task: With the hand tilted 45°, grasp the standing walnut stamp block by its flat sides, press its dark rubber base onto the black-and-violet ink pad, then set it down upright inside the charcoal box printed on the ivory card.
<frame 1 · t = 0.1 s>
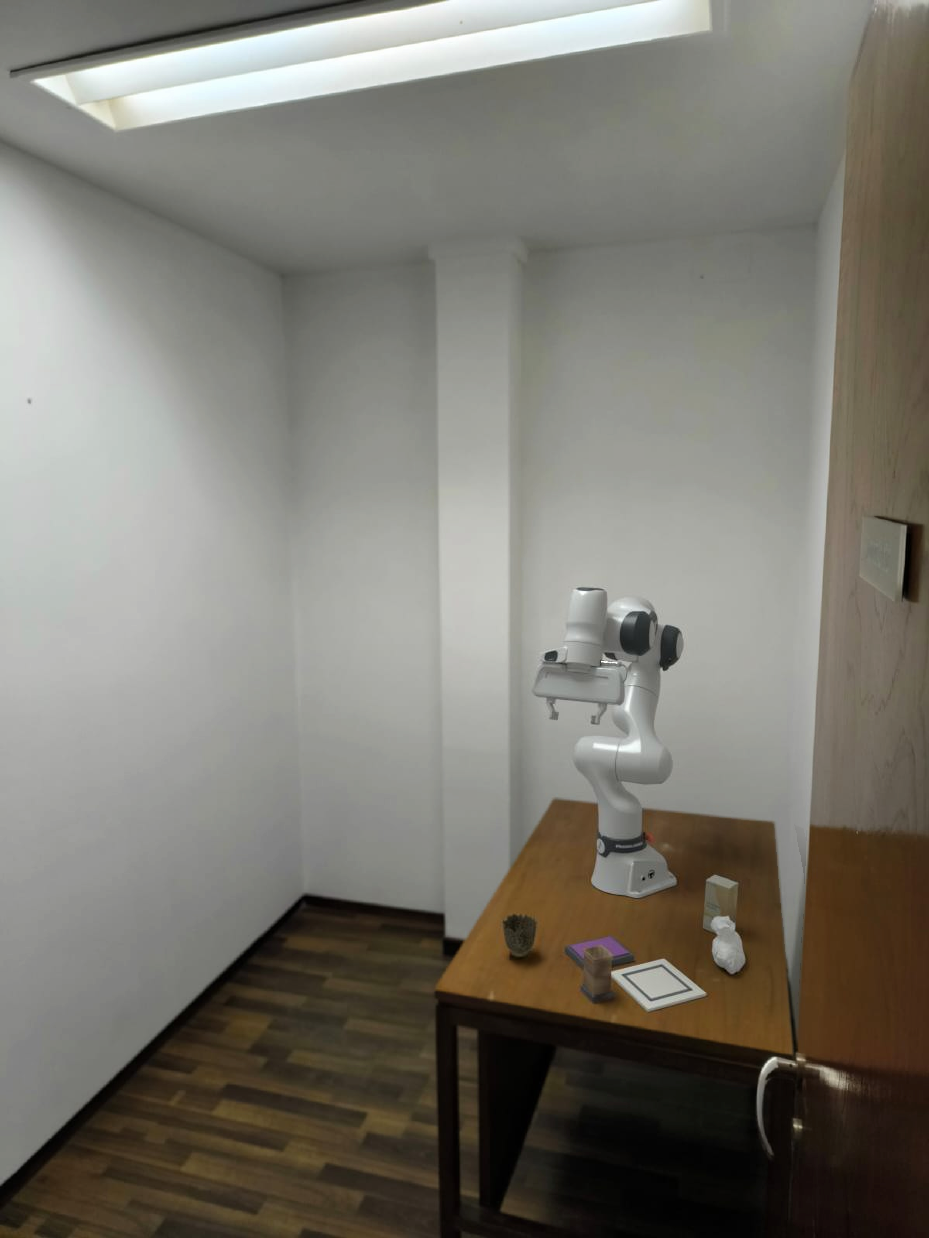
hand: (573, 722, 174), 52 cm above the table, tool tilted 20°, fingers open, 8 cm apart
bust: (726, 964, 175), on the table
stamp: (596, 994, 164), on the table
ink pad: (599, 956, 178), on the table
print card: (656, 985, 167), on the table
cup: (519, 956, 178), on the table
skincare box: (719, 931, 189), on the table
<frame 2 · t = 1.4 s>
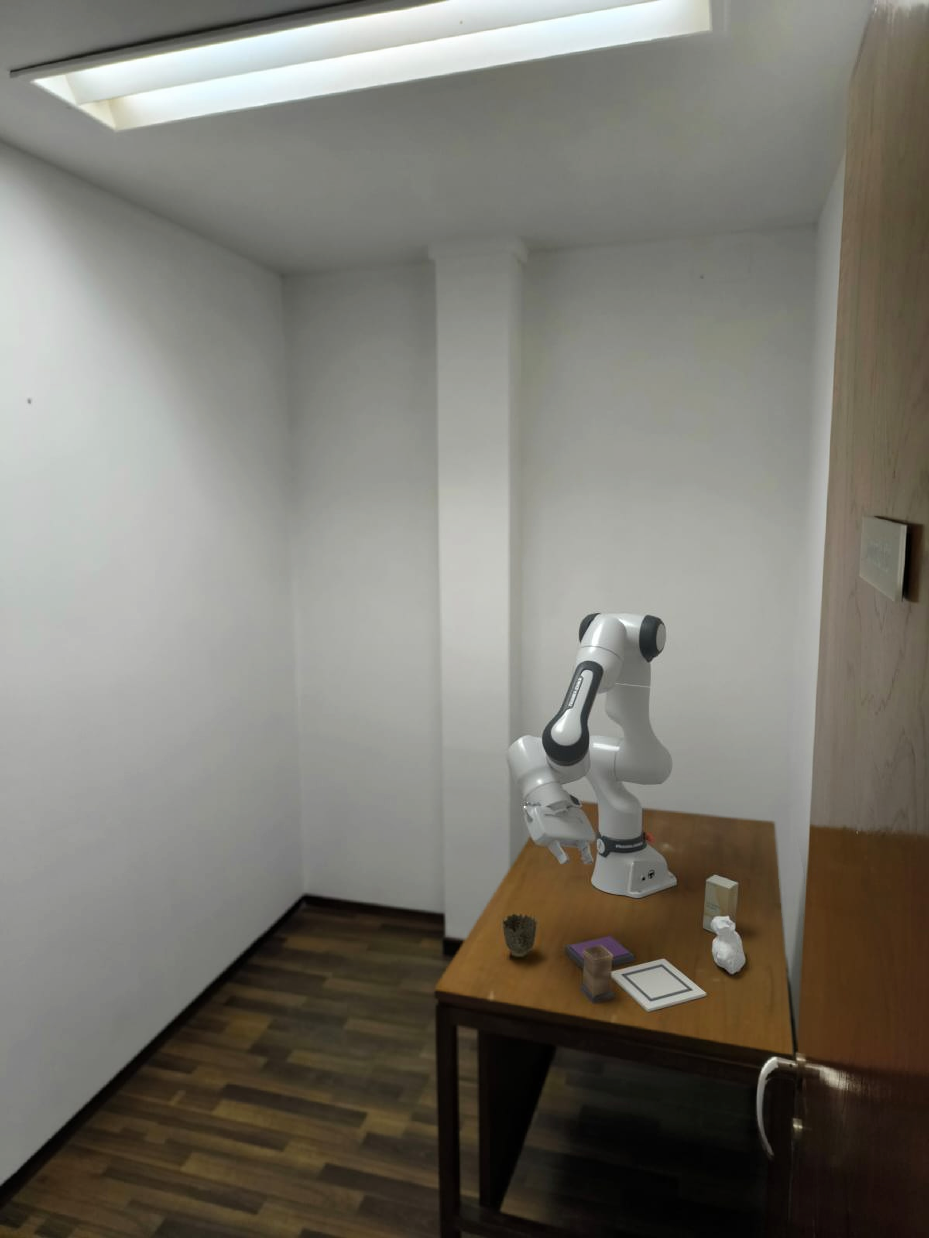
hand: (577, 862, 168), 25 cm above the table, tool tilted 50°, fingers open, 8 cm apart
nothing on the table moved.
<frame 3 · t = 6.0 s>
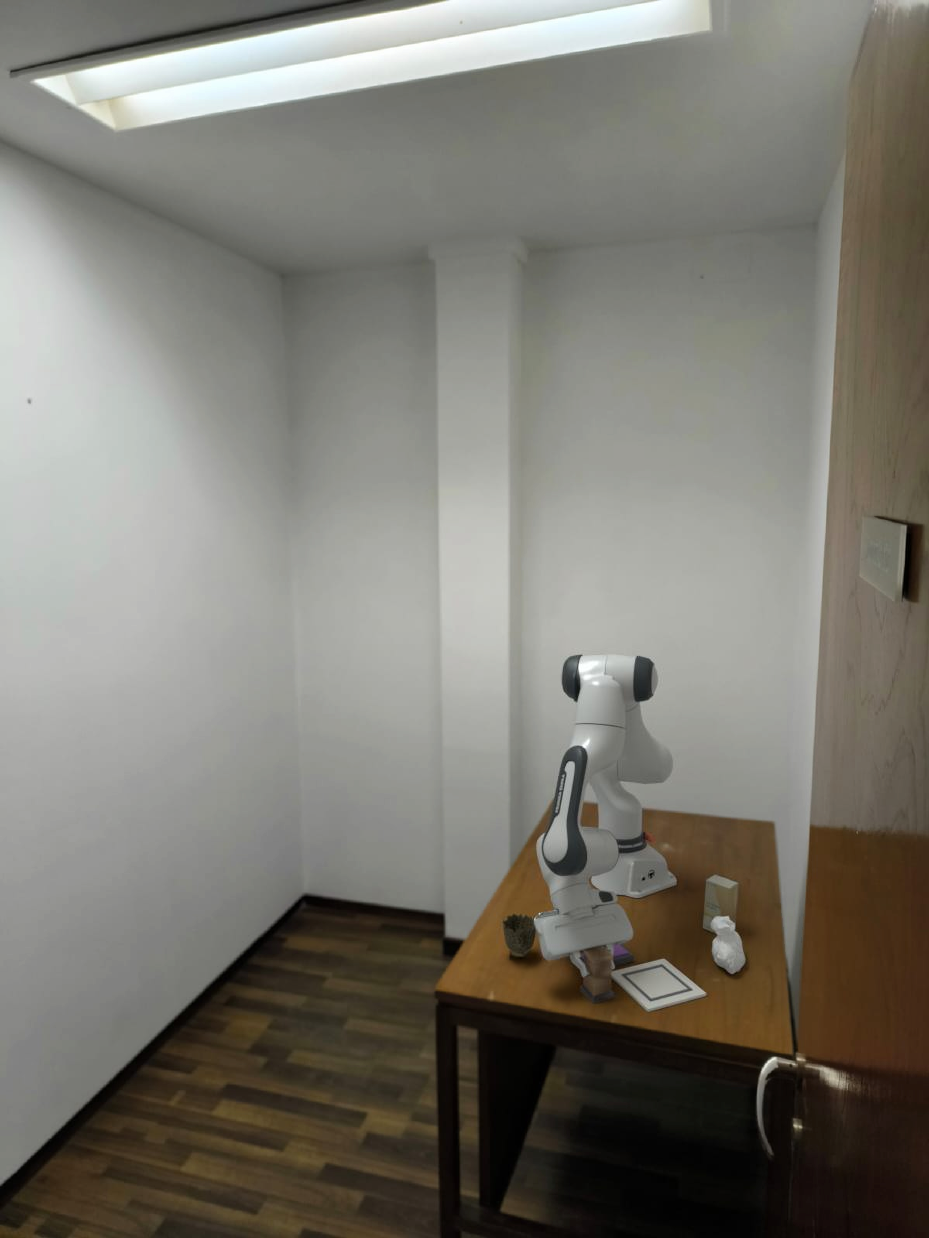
hand: (599, 972, 163), 5 cm above the table, tool tilted 45°, fingers closed on stamp, 4 cm apart
stamp: (596, 993, 164), on the table, touching gripper
everything else where it was.
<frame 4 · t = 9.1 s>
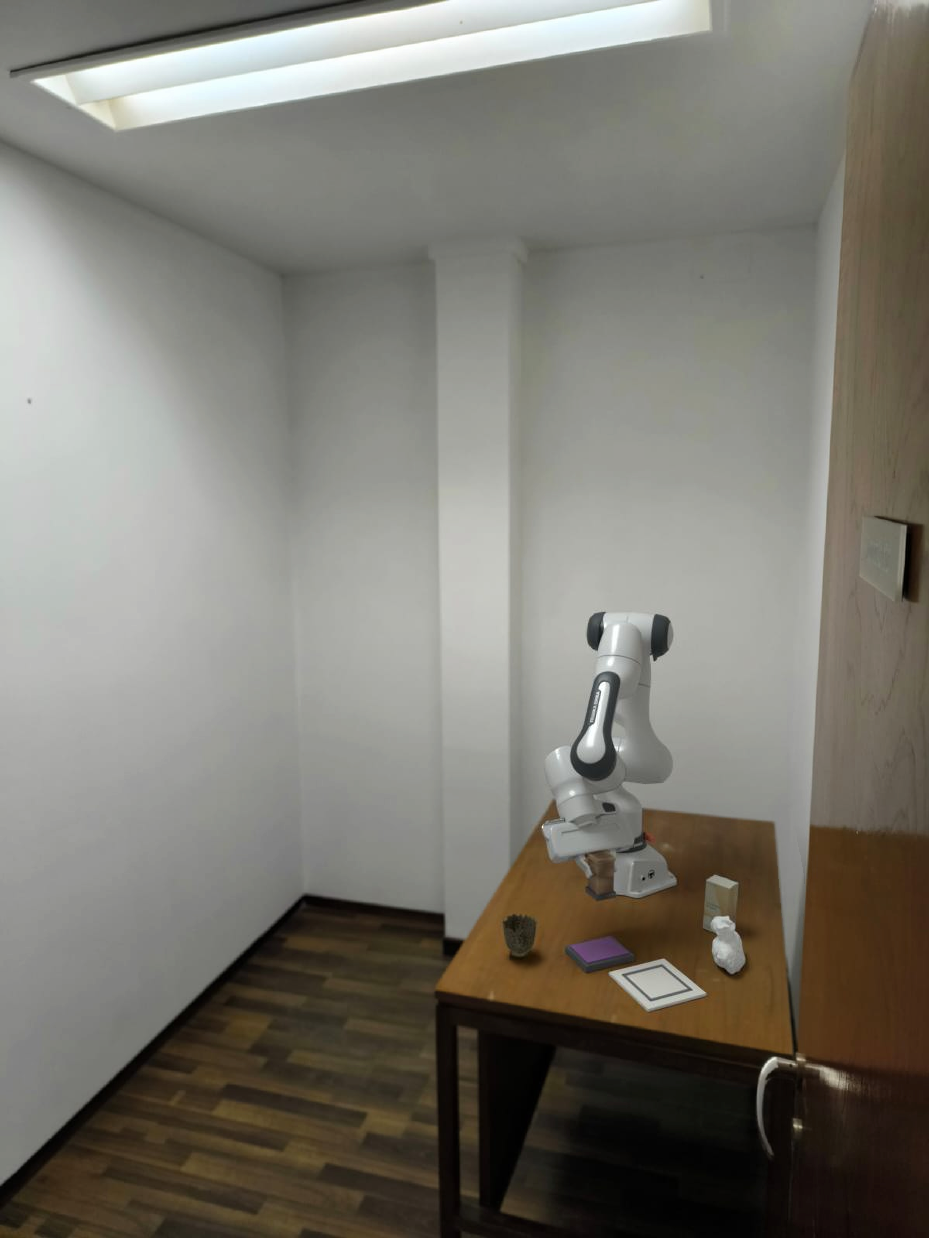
hand: (602, 874, 175), 19 cm above the table, tool tilted 45°, fingers closed on stamp, 4 cm apart
stamp: (600, 894, 176), point 14 cm above the table, touching gripper
everything else where it was.
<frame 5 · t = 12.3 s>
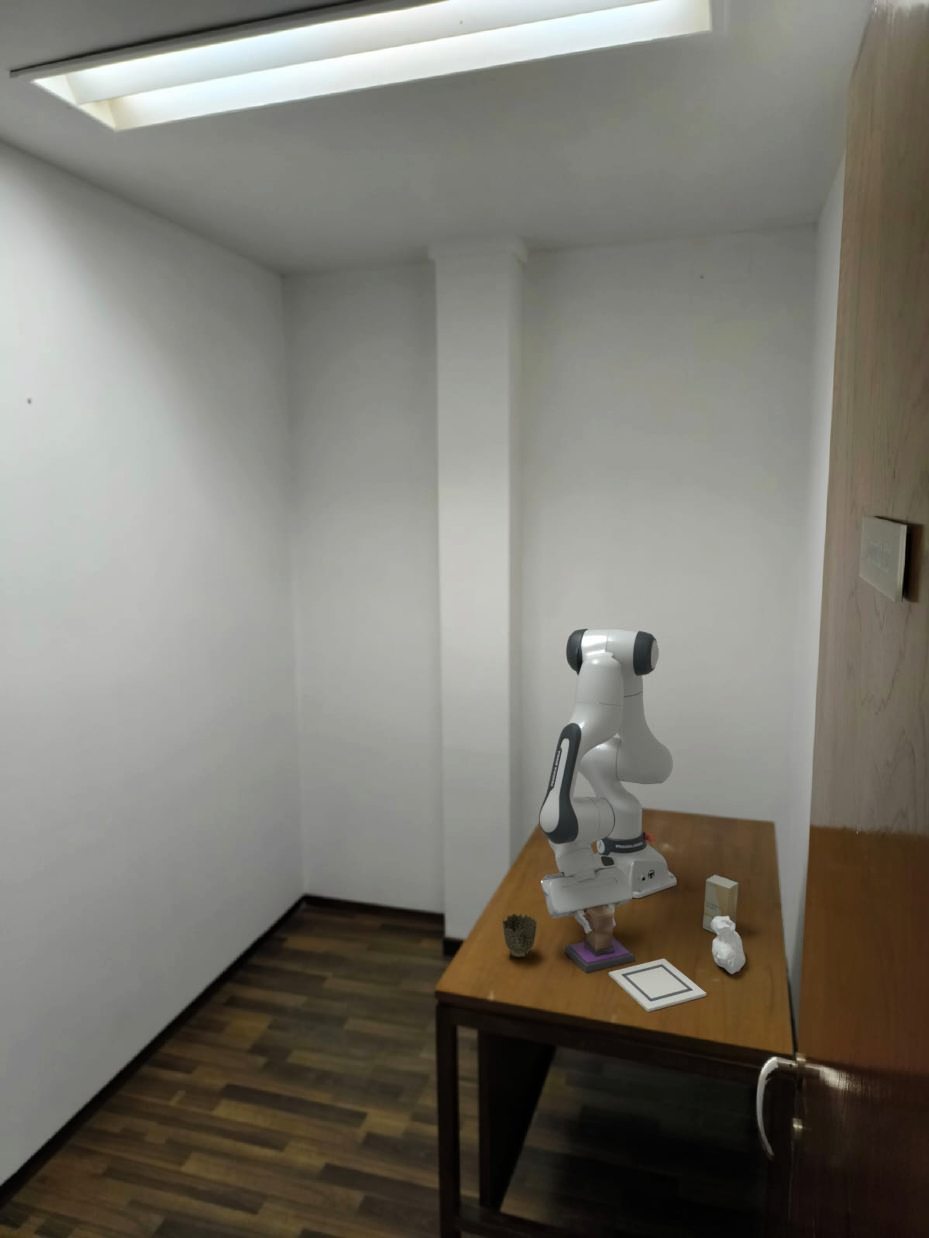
hand: (601, 929, 176), 7 cm above the table, tool tilted 45°, fingers closed on stamp, 4 cm apart
stamp: (599, 949, 178), point 2 cm above the table, touching gripper, ink pad
everything else where it was.
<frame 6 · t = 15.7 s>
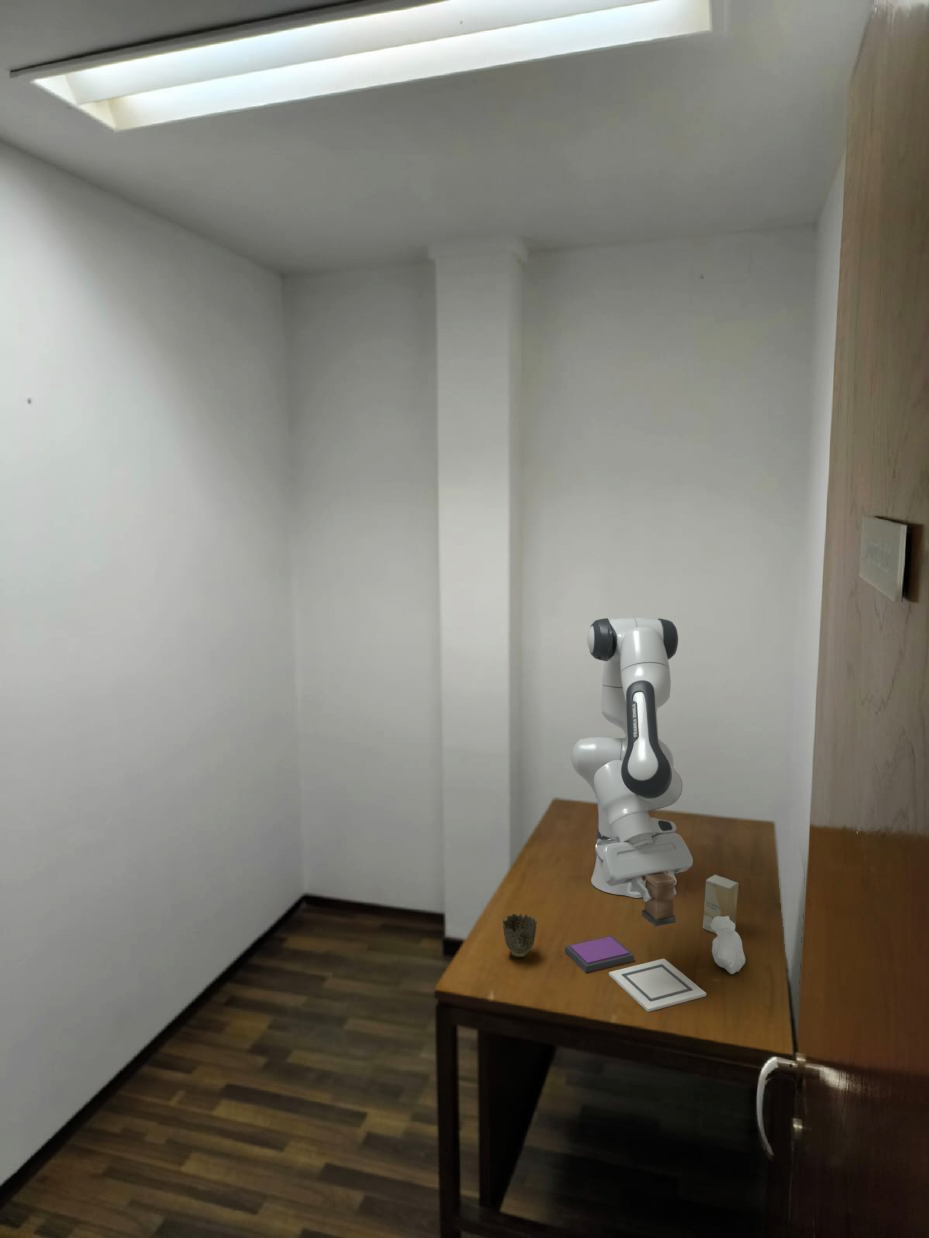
hand: (661, 897, 164), 19 cm above the table, tool tilted 45°, fingers closed on stamp, 4 cm apart
stamp: (658, 918, 165), point 14 cm above the table, touching gripper
everything else where it was.
when the fingers open (7 cm above the table, at t = 18.8 s): stamp drops 2 cm, resting on print card.
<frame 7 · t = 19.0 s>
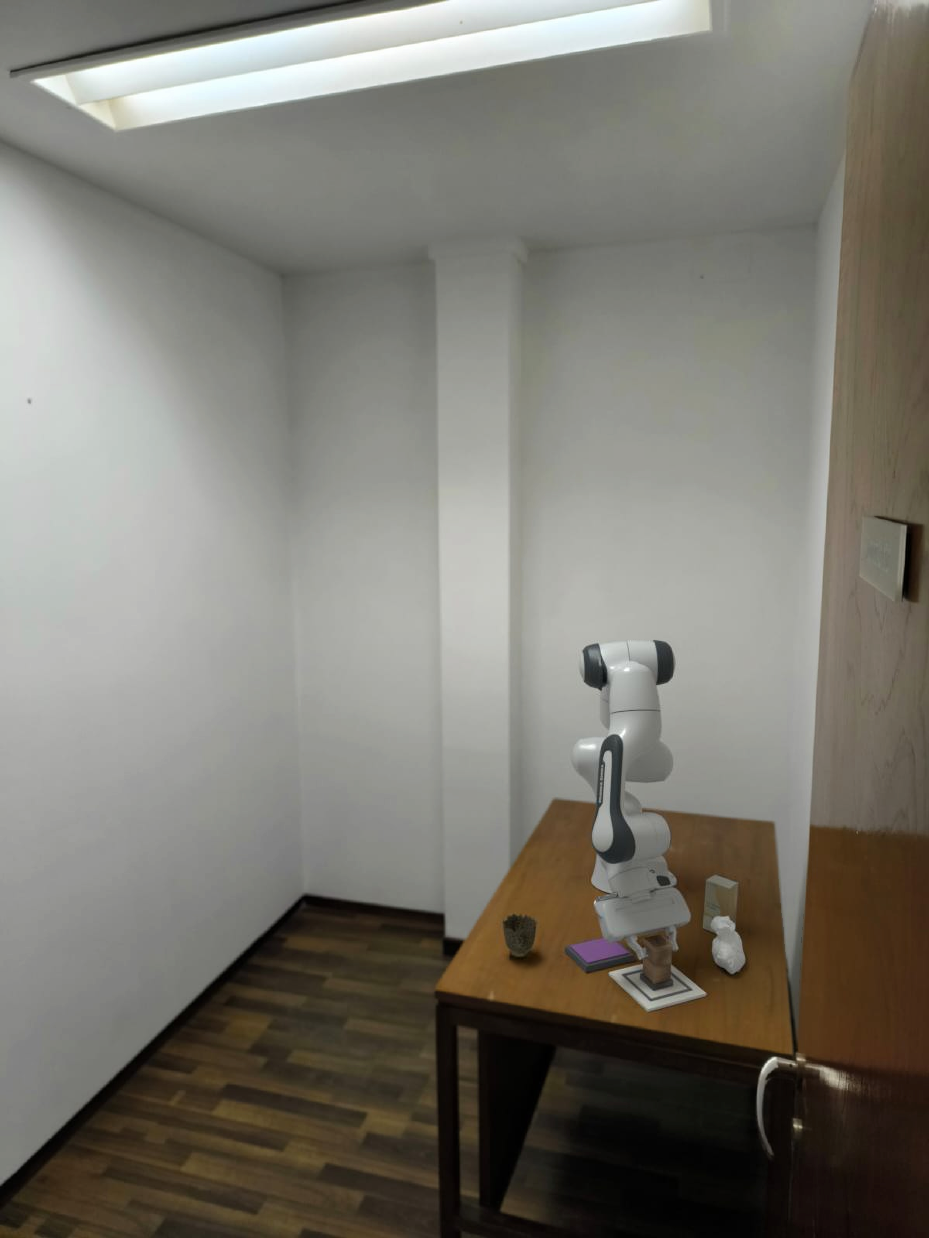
hand: (659, 954, 166), 7 cm above the table, tool tilted 45°, fingers open, 6 cm apart
stamp: (656, 982, 167), point 1 cm above the table, touching print card
everything else where it was.
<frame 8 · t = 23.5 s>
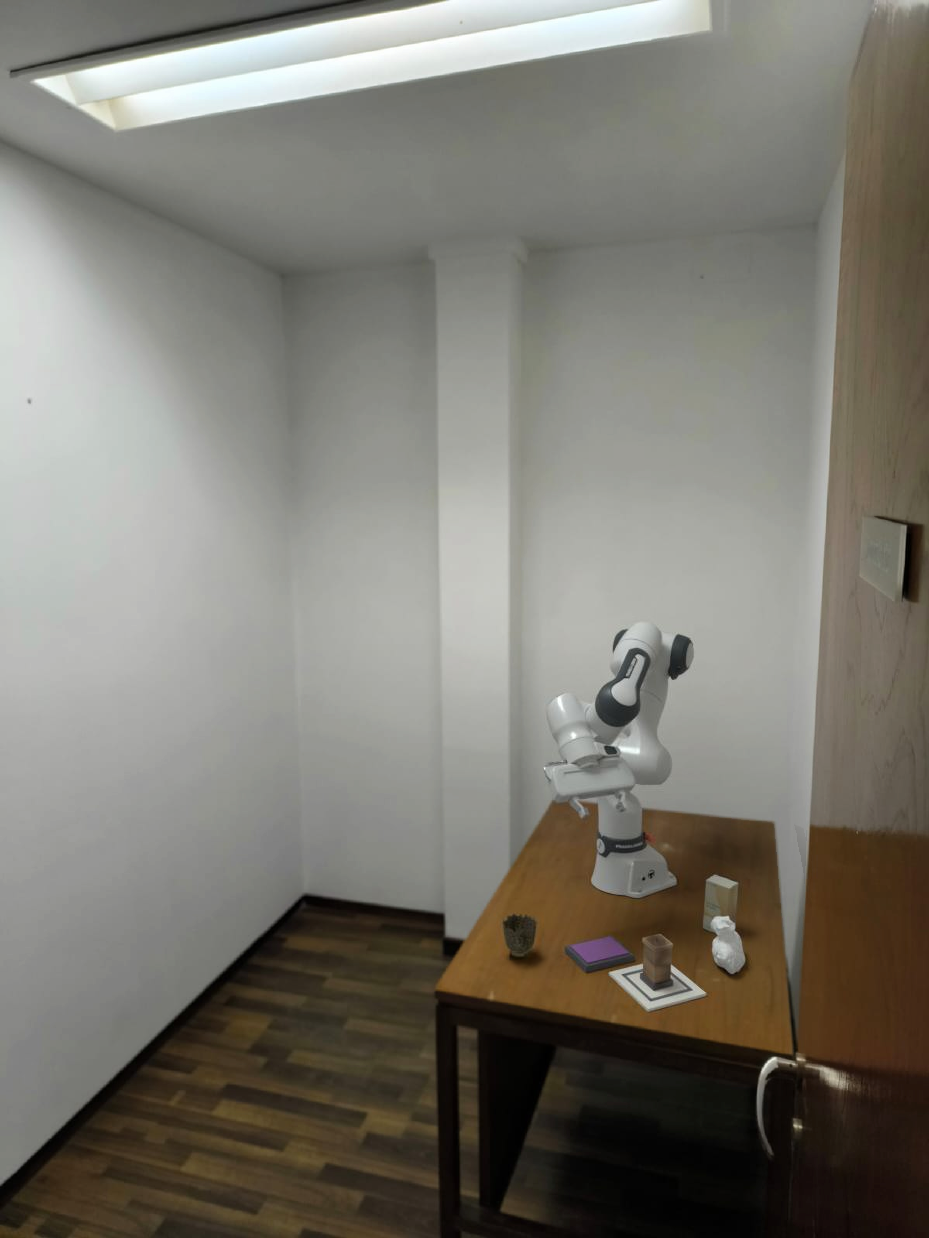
hand: (604, 813, 177), 31 cm above the table, tool tilted 45°, fingers open, 8 cm apart
nothing on the table moved.
at the end: stamp inside the target area on the print card (0.1 cm from its centre), point 0.6 cm above the print card's base; stamp tilted 0°; the gripper is holding nothing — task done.
